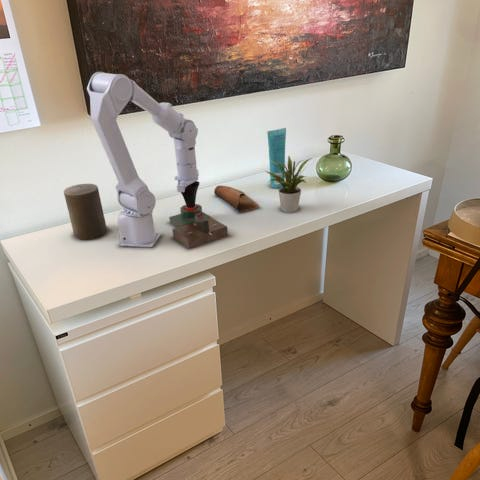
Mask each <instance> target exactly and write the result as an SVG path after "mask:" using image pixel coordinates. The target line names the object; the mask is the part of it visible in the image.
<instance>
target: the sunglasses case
mask: <svg viewBox="0 0 480 480" xmlns="http://www.w3.org/2000/svg"><path fill="white" fill-rule="evenodd" d="M213 192H214V195H215V196H217V197H218V198H220V199H222V200H223V201H224V202H226V203H228V205H230V206H231V207H233V208H235V210H237V211H238V212H239V213H246V212H250V211H253V210H257V209H259V208H260V205H258V203H256V201H255V200H254V199H252V198H251V197H250V196H248V195H246V193H245V192H244V191H242V190H240V189H237V188H235V187H231V186H227V185H217V186H216V187H215V188H214V191H213Z"/></svg>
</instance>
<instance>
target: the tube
mask: <svg viewBox="0 0 480 480" xmlns="http://www.w3.org/2000/svg"><path fill="white" fill-rule="evenodd" d="M266 133H267V144H268V145H267V146H268V159H269V172H272V173H274V174H276V175H278V176H280V177H281V178H282V179H283V180H284V181H285V179H284V178H285V177H284V176H282V175H283V173H284V172H283V173H282V171H283V170H282V171H281V169H280V168H281V167H280V168H279V165H278V164H276V163H274V162H277V163H279V164H280V165H281V166H282V167H283V168H284V169H285V167H284V165H285V166H286V138H287V128H286V127H283V128H278V129H273V130H268V131H267V132H266ZM272 161H274V162H272ZM280 161H281V162H282V163H283V164H284V165H283V164H282V163H281V162H280ZM271 166H272V167H271ZM273 167H274V168H273ZM275 168H276V169H275ZM285 170H286V169H285ZM284 175H285V174H284ZM272 179H275V178H274V177H272V176H271V175H270V174H269V181H270V180H272ZM269 183H270V187H271V188H275V189H278V188H279V189H280V188H282V187H283V186H282V185H281V184H280V183H279V182H278V181H270V182H269Z"/></svg>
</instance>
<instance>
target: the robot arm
mask: <svg viewBox="0 0 480 480" xmlns="http://www.w3.org/2000/svg"><path fill="white" fill-rule="evenodd" d="M86 90H87V93H88V95H89V103H90V104H89V105H90V108H89V109H90V119H91V122H92V125H93V127H94V129H95V132H96V134H97V136H98V138H99V141H100V143H101V146H102V147H103V150H104V152H105V154H106V156H107V159H108V161H109V164H110V166H111V168H112V170H113V172H114V174H115V177H116V180H117V183H116V185H115V189H116V192H117V202H118V204H119V205H120V206H121V207H122V208H123V210H121V211H119V212H118V216H117V226H118V227H117V228H118V233H119V238H120V246H121V247H135V248H136V247H137V248H153V247H154V245H155V244H156V243H157V241H158V240H159V238H160V236H161V234H160V233H156V231H155V224H154V218H153V212H154V209H155V207H156V203H157V201H156V197H155V194H153V192H152V191H150V189H149V187H148V185H147V184H146V183H145V182H144V181H143V180H142V178H141V177H140V176H139V174H138V171H137V169H136V167H135V164H134V162H133V159H132V157H131V154H130V152H129V149H128V146H127V144H126V141H125V139H124V137H123V134H122V132H121V129H120V127H119V124H118V121H117V119H118V116H119V115H120V114H121V113H122V112H123V110H124V109H125V108H126V106H127V104H129V102H131V103H133V104H134V105H136V106H138V107H139V108H141V109H142V110H144V111H146V113H149V114H150V115H151V119H152V122H154V123H155V124H156V125H157V126H159V127H161V128H162V129H163V130H164V131H166V132H167V134H168V135H169V137H170V138H172V139H173V145H174V153H175V154H174V155H175V162H176V170H177V175H176V176H174V181H177V184H176V192H177V193H180V194H181V195H182V197H183V200H184V203H185V205H186V206H187V208H194V206H195V204H196V201H197V200H196V199H197V194H198V193H197V192H198V189H199V187H200V181H199V176H200V173H199V169H198V168H197V167H198V165H197V157H196V144H197V141H196V140H197V136H198V133H199V128H197V126H196V123H195V122H194V120H191V119H187V118H185V117H184V116H185V115H184V114H183V113H182V112H178V111H177V110H175V109H174V108H173V105H172V103H170V102H164V101H163V102H158V101H157V100H156V99H154V98H153V97H152V96H151V95H150V94H148V93H147V92H146V91H145V90H144V89H143V88H142V87H140V86H139V85H138V84H137V83H136V81H135V80H133V79H130V78H129V77H128V76H127V75H125V74H122V73H118V74H116V73H110V72H104V71H96V72H95V73H93V74H92V75H91V77H90V79H89V81H88V84H87V86H86Z"/></svg>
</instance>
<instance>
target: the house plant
mask: <svg viewBox="0 0 480 480" xmlns="http://www.w3.org/2000/svg"><path fill="white" fill-rule="evenodd" d="M312 159H313V158H308V159H306V160H300V161H298V162H297V163H296V161H295V160H294V161H292V159H291V156H290V155H288V156H287V166H286V164H285V165H284V164H283V163H282V162H281V161H280V162H281V163H282V164H283V165H284V167H285V169H284V168H283V167H282V166H281V165H280V164H279V163H277V162H274V161H272V162H274V163H276V164H278V165H279V168H280V167H281V168H280V169H281V171H282V170H283V171H282V173H283V172H284V173H283V175H282V176H284V180H283V179H282V178H281V177H280V176H278V175H276V174H274V173H272V172H270V171H268V170H265V173H266V174H268V175H269V176H270V175H271V176H272V177H274V178H275V179H272V180H270V179H269V181H268V182H267V183H270V181H278V182H279V183H280V184H281V185H282V186H283V187H280V188H279V189H278V197H279V204H280V209H281V211H282V212H284V213H295V212H297V211H298V210H299V205H300V198H301V195H302V194H301V193H302V189H301V188H300V187H298V185H300V183H305V184H307V180H306V179H303V178H307V176H306V175H301V174H302V173H303V172H304V170H303V169H304V168H305V165H306V164H307V163H308V162H309V161H310V160H312ZM301 162H302V163H301ZM300 163H301V164H300ZM299 164H300V166H299V167H298V165H299ZM271 167H272V166H271ZM297 167H298V169H297ZM273 168H274V167H273ZM275 169H276V168H275ZM296 169H297V172H296ZM295 172H296V173H295ZM284 174H285V175H284Z"/></svg>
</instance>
